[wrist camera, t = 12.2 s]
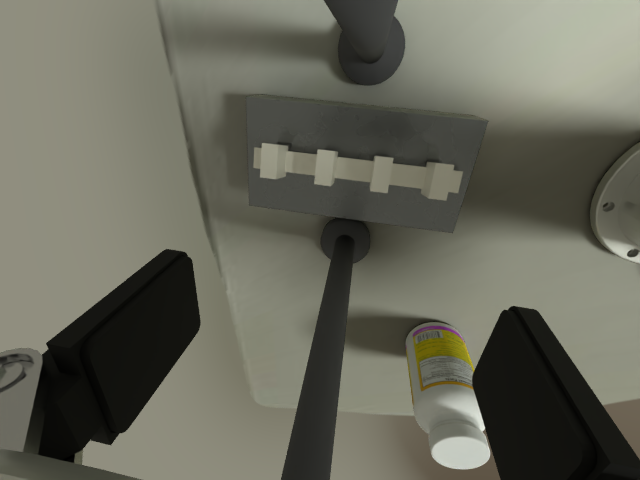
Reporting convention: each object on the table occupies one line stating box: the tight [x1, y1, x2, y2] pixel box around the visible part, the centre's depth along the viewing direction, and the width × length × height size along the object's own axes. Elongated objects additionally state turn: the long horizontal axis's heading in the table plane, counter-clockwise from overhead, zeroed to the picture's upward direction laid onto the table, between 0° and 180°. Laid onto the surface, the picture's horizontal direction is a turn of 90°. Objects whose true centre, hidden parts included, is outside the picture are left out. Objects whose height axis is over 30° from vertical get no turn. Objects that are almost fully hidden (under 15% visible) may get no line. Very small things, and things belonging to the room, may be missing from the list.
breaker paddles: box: [253, 143, 463, 201], centre depth 23 cm, size 16×2×4 cm, turn 86°
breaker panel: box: [246, 94, 488, 233], centre depth 27 cm, size 18×9×4 cm, turn 86°
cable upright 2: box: [281, 217, 370, 480], centre depth 22 cm, size 5×5×23 cm
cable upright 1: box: [324, 0, 405, 85], centre depth 14 cm, size 5×5×23 cm
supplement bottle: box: [405, 322, 490, 469], centre depth 31 cm, size 7×7×13 cm
